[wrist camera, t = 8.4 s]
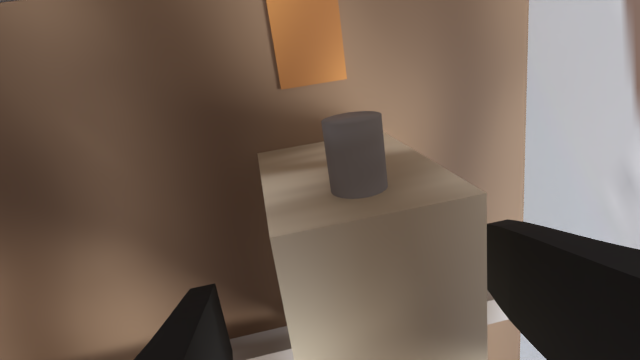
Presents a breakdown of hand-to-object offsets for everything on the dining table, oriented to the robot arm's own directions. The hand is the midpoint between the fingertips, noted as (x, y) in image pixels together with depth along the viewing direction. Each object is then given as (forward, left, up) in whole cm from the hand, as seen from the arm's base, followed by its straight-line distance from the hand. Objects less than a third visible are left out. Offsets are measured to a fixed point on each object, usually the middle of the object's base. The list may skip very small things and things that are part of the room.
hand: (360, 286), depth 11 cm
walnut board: (-4, 0, -5) cm, 6 cm away
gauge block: (0, 0, -4) cm, 4 cm away
